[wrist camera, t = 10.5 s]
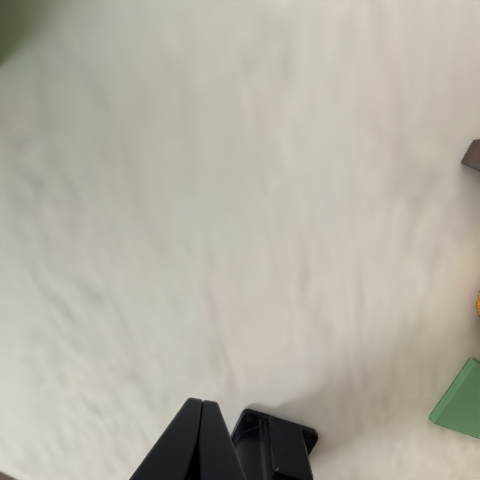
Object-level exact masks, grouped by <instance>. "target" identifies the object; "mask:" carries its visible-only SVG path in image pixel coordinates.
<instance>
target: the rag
mask: <svg viewBox="0 0 480 480" xmlns="http://www.w3.org/2000/svg"><path fill="white" fill-rule="evenodd" d="M429 418H430V419H431V421H432V422H433V423H434V424H437V425H440V426H443V427H446V428H449V429H452V430H455V431H458V432H461V433H464V434H467V435H470V436H473V437H476V438H479V439H480V362H479V361H476V360H474V359H471V358H470V359H469V360H468V362H467V363H466V365H465V366H464V368H463V369H462V371H461V372H460V374H459V375H458V376H457V378H456V379H455V381H454V382H453V384H452V385H451V387H450V388H449V389H448V391H447V392H446V394H445V395H444V397H443V398H442V400H441V401H440V402H439V404H438V405H437V407H436V408H435V410H434V411H433V413H432V414H431V415H430V417H429Z"/></svg>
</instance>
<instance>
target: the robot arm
mask: <svg viewBox="0 0 480 480" xmlns="http://www.w3.org/2000/svg"><path fill="white" fill-rule="evenodd" d="M248 416H249V417H248ZM317 440H318V434H317V431H316V430H314V429H312V428H308V427H305V426H302V425H299V424H296V423H293V422H289V421H286V420H283V419H280V418H277V417H274V416H271V415H267V414H264V413H261V412H258V411H255V410H252V409H245V410H243V412H242V413H241V415H240V418H239V420H238V422H237V424H236V426H235V428H234V430H233V432H232V434H231V436H230V435H229V432H228V429H227V427H226V424H225V421H224V419H223V416H222V413H221V411H220V408H219V405H218V403H217V402H215V401H209V400H204V401H203V403H202V400H201V399H196V398H188V399H187V401H186V402H185V403H184V405H183V406H182V408H181V409H180V410H179V412H178V413H177V414H176V416H175V417H174V419H173V420H172V421H171V423H170V424H169V425H168V427H167V428H166V430H165V431H164V432H163V434H162V435H161V437H160V438H159V439H158V441H157V442H156V443H155V445H154V446H153V448H152V449H151V450H150V452H149V453H148V454H147V456H146V457H145V459H144V460H143V461H142V463H141V464H140V466H139V467H138V468H137V470H136V471H135V472H134V474H133V475H132V477H131V478H130V479H129V480H313V474H312V470H311V466H310V462H309V458H308V456H309V454H310V452H311V451H312V449H313V447H314V446H315V444H316V442H317Z"/></svg>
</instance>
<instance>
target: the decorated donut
mask: <svg viewBox="0 0 480 480" xmlns="http://www.w3.org/2000/svg"><path fill="white" fill-rule="evenodd" d="M476 308H477V311H478V313H479V316H480V292H479V296H478V298H477V302H476Z"/></svg>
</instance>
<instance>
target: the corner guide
mask: <svg viewBox="0 0 480 480" xmlns="http://www.w3.org/2000/svg"><path fill="white" fill-rule="evenodd" d="M461 163H462V164H465V165H467V166H469V167H471V168H474V169H476V170H478V171H480V139H478V140H473V142H472V144H471V145H470V147H469V149H468V151H467V152H466V154H465V156H464V158H463V159H462V161H461Z"/></svg>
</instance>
